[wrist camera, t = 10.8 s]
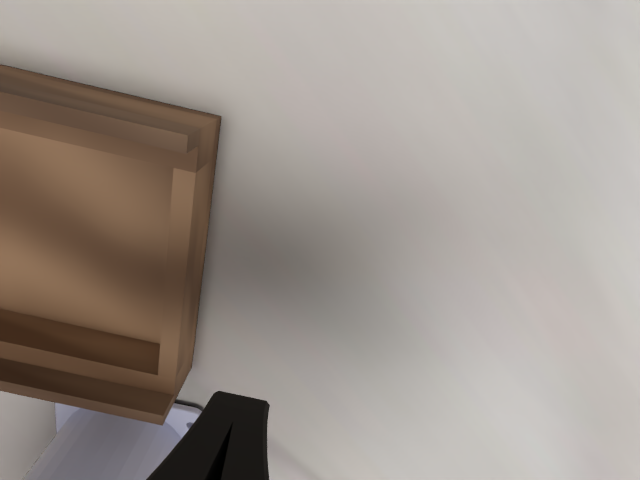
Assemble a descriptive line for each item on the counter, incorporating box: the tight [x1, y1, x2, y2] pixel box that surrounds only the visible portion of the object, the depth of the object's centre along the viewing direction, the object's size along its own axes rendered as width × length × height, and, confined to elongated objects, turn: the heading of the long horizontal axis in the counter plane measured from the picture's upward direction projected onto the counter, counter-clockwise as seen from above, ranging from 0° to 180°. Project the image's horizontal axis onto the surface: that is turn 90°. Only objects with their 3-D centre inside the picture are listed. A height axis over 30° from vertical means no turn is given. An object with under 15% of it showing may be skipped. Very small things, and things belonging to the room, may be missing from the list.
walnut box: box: [0, 65, 221, 426], centre depth 18 cm, size 13×14×4 cm
